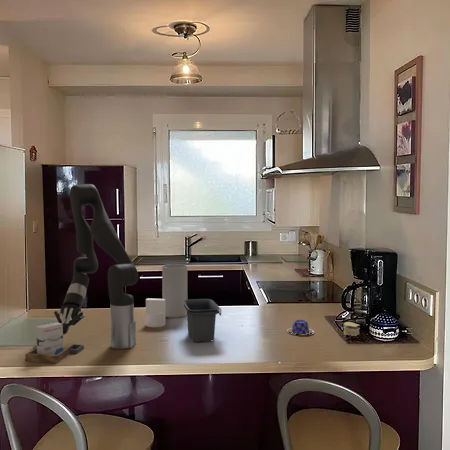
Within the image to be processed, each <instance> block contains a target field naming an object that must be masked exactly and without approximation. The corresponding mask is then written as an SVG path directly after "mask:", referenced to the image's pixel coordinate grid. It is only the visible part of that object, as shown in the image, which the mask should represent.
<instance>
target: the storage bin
mask: <svg viewBox="0 0 450 450" xmlns="http://www.w3.org/2000/svg"><path fill="white" fill-rule="evenodd" d="M183 303H184V307H185V308H186V310H187V315H186V319H187V320H186V321H187V332H188V334H189V335H190V338H191V339H192V341H193V342H194V343H201V342H200V341H207V342H212V341H211V340H213V341H214V340H215V331H216V319H217V315H219V316H222V308H221V307H220V306H219V305H218V304H217V303H216V302H215V301H214V300H213V299H210V298H198V299H197V298H196V299H195V298H193V299H192V298H191V299H187V300H184V301H183Z"/></svg>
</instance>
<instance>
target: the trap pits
mask: <svg viewBox="0 0 450 450" xmlns="http://www.w3.org/2000/svg"><path fill="white" fill-rule="evenodd" d="M84 345H85V344H78V343H76V344H75V343H72V344H71V345H70V346H68V348H69V351H70V354H79V353H80V352H81V351H83V350H84V347H85V346H84ZM36 347H37V344H36V345H35V346H34V347H32V350H33V349H34V348H36Z"/></svg>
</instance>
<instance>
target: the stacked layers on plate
mask: <svg viewBox="0 0 450 450" xmlns="http://www.w3.org/2000/svg"><path fill="white" fill-rule="evenodd" d="M358 326H359V327H358ZM360 329H361V328H360V324H357V323H355V322H352V321H345V322H344V323H343V336H344V335H351V336H357V335H359V336H360V333H361V332H360Z"/></svg>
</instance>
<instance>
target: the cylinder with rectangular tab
mask: <svg viewBox="0 0 450 450" xmlns="http://www.w3.org/2000/svg"><path fill="white" fill-rule="evenodd" d="M165 325H166V317H165V299H162V298H149V297H148V298H147V297H146V299H145V326H146V327H148V328H160V327H161V328H162V327H164V326H165Z"/></svg>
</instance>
